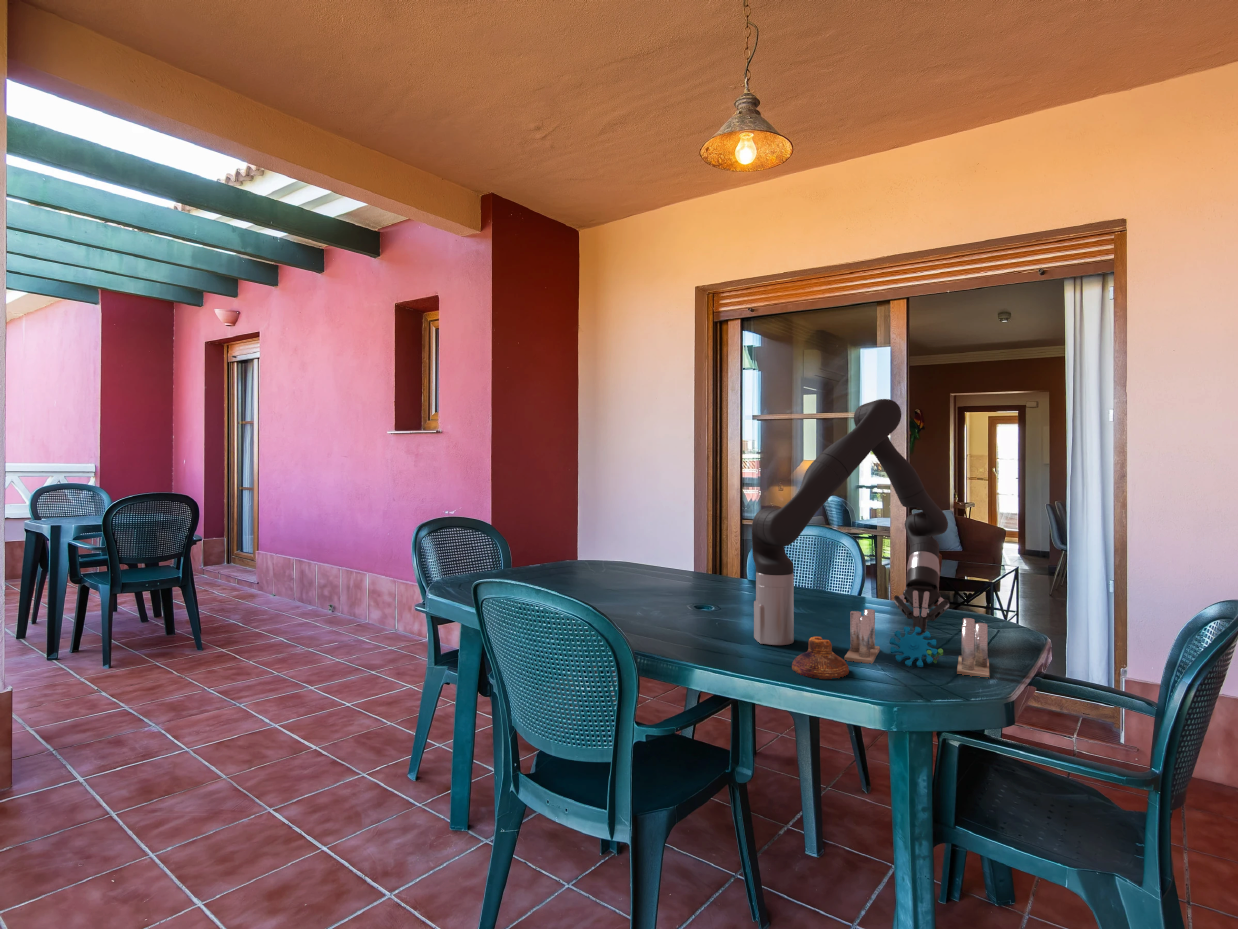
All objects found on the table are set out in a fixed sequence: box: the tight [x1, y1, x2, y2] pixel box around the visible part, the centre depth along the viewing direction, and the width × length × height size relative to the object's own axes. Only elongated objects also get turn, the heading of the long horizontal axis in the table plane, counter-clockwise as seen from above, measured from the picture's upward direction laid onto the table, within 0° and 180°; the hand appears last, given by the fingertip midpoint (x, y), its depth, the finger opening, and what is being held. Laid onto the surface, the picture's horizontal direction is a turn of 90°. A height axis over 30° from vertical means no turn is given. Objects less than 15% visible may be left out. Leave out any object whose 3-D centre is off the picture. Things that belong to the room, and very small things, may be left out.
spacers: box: [849, 608, 988, 671], centre depth 156 cm, size 10×28×9 cm, turn 62°
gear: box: [889, 626, 944, 668], centre depth 156 cm, size 11×6×10 cm
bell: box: [791, 636, 850, 680], centre depth 150 cm, size 12×12×7 cm
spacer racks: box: [843, 645, 990, 678], centre depth 156 cm, size 13×29×1 cm, turn 62°
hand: (919, 632), depth 165 cm, fingers closed
